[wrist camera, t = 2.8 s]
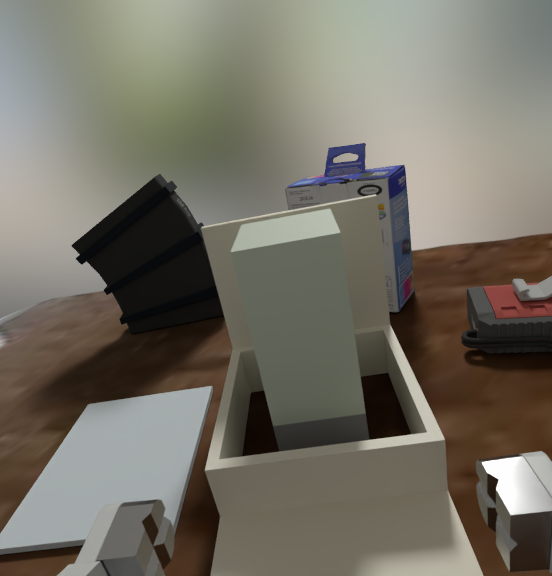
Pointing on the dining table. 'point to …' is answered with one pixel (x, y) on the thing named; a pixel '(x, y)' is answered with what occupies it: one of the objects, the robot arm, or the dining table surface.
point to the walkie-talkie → (510, 317)
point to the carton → (332, 448)
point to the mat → (112, 468)
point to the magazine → (153, 260)
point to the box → (302, 328)
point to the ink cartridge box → (391, 204)
